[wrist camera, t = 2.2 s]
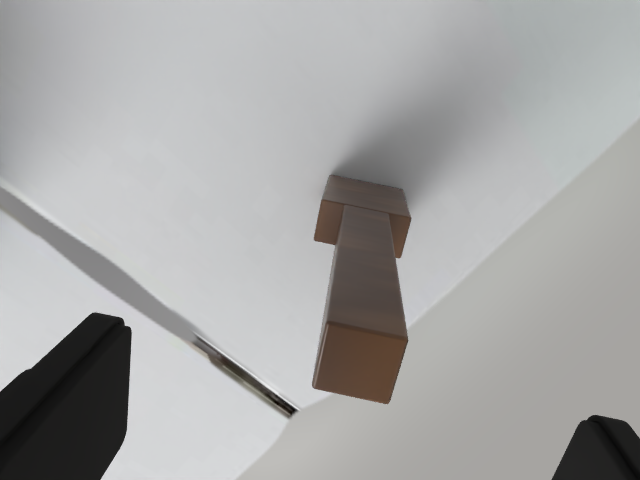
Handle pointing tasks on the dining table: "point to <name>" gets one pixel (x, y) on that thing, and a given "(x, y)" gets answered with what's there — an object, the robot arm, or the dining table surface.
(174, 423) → the dining table surface
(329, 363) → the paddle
